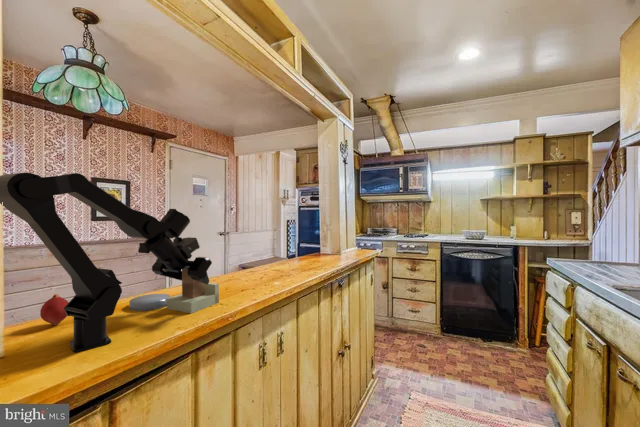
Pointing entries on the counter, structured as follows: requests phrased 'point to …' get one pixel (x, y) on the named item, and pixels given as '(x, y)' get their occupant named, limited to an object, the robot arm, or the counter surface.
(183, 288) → the walnut block
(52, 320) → the onion
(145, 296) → the disc
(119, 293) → the robot arm
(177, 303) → the ledge
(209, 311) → the counter surface
